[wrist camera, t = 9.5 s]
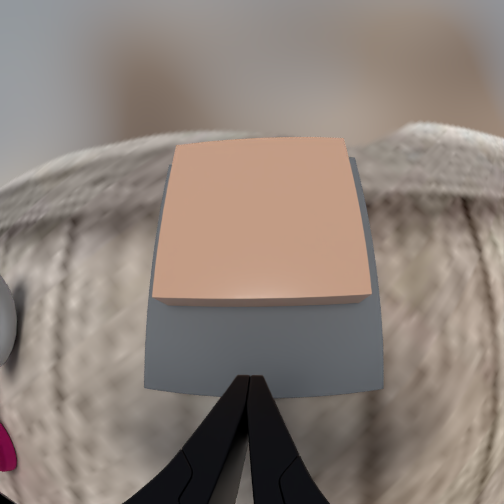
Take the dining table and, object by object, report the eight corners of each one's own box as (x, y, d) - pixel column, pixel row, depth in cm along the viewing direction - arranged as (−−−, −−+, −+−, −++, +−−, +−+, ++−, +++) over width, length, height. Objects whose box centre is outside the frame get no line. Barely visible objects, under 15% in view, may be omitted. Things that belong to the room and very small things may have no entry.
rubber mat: (381, 388, 14) (383, 388, 14) (146, 387, 16) (144, 388, 15) (353, 160, 20) (354, 157, 20) (170, 167, 22) (169, 164, 21)
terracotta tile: (372, 294, 14) (343, 138, 18) (151, 297, 15) (176, 145, 19) (358, 303, 16) (337, 160, 20) (168, 305, 17) (185, 166, 21)
